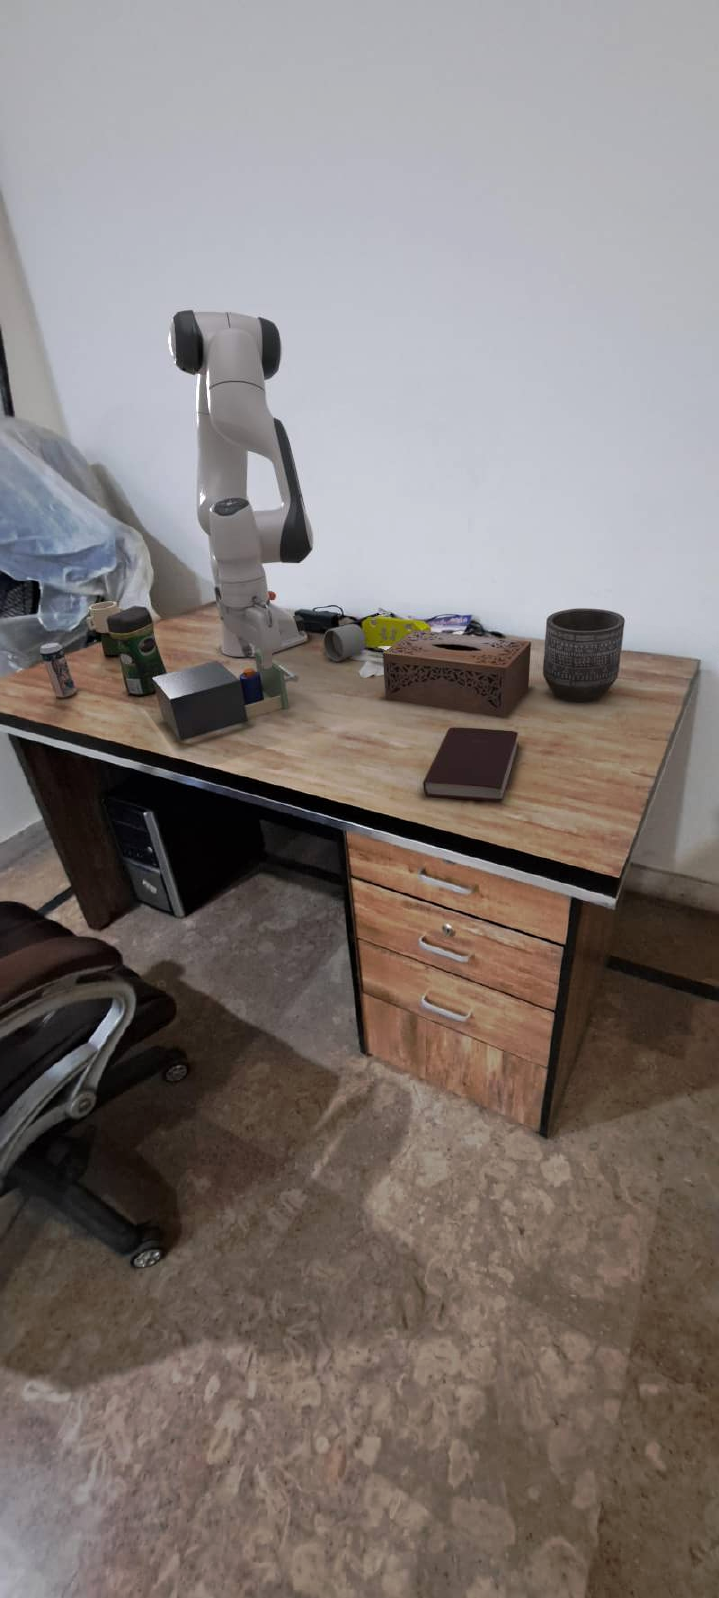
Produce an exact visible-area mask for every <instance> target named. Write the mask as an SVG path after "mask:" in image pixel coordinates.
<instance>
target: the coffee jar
mask: <svg viewBox="0 0 719 1598" xmlns="http://www.w3.org/2000/svg"><path fill="white" fill-rule="evenodd" d="M107 624H108V630H109V634H110V635H111V637H112V638H113V639H114V641H115V644H116V647H117V650H118V654H117V655H118V658H119V662H120V668H121V672H122V678H123V682H124V687H125V690H126V692H127V693H128V694H131V696H137V697H140V696H148V695H151V694H153V693H156V691H155V687H154V683H153V679H152V677H156V676H160V675H164V674H168V672H167V669H166V667H165V664H164V661H163V659H162V656H161V653H160V651H159V650H160V649H159V647H158V644H157V641H156V637H155V627H154V620H153V617H152V615H151V612H150V611H149V609H148V608H147V607H145V606H140V605H139V606H138V605H133V606H130V607H128V608H125V609H124V610H123V611H121V612H120V611H119V613H116V614H114V615H111V616H108V618H107Z"/></svg>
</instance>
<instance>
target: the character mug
mask: <svg viewBox="0 0 719 1598" xmlns="http://www.w3.org/2000/svg"><path fill="white" fill-rule="evenodd" d="M123 610H125V609H124V608H123V606H119V607H118V604H117V602H116V601H101V602H97V603H93V604H91V605H89V606H88V612H89V615H90V616H87V617H86V619H85V620H86V625H87V627H88V629H89V631H94V630H95V632H97V633H100V634H101V635H100V638H101V639H100V640H101V646H102V647H101V648H102V651H103V655H106V656H107V655H108V656H117V655H119V654H118V650H117V647H116V644H115V641H114V639H113V638H112V637H111V635H110V634H109V630H108V624H107V618H108V616H111V615H114V614H116V613H119V612H121V611H123Z"/></svg>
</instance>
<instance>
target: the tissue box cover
mask: <svg viewBox="0 0 719 1598" xmlns="http://www.w3.org/2000/svg"><path fill="white" fill-rule="evenodd" d="M531 649H532V641H530V640H529V641H528V640H519V639H509V638H499V637H490V636H489V637H487V636H479V635H469V634H461V633H459V634H458V633H448V632H440V631H432V630H431V631H421V630H413V631H412V632H410V633H409V634H408V635H406V636H405V637H404V638H402V639H401V640H400V641H398V642H397V643H395V644H394V645H393V646H391V647H390V648H389V649H387V650H386V651H385V652H384V651H383V652H382V667H383V680H384V695H385V699H386V700H391V701H396V702H397V701H398V702H404V703H409V704H416V705H421V706H429V707H436V708H441V709H448V710H454V711H461V712H467V713H472V714H473V713H474V714H479V715H487V716H493V717H499V718H506V717H507V715H508V714H509V713H510V712H511V710H512V709H513V708H514V707H515V706H516V704H517V703H518V702H519V701H520V699H521V698H522V697H523V696H524V694H525V693H526V692H527V691H528V690H529V685H530V668H531Z"/></svg>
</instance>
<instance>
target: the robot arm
mask: <svg viewBox="0 0 719 1598" xmlns="http://www.w3.org/2000/svg"><path fill="white" fill-rule="evenodd" d="M171 320H172V321H171V324H170V325H169V326H170V327H169V330H168V346H169V350H170V351H169V352H170V354H171V356H172V359H173V361H174V365H175V366H176V367H177V368H178V369H179V370H180V371H182V372H184V373H186V374H189V375H192V376H196V375H197V380H196V381H197V382H196V397H195V408H196V409H195V410H196V411H195V412H196V414H195V415H196V436H197V437H196V440H197V469H196V475H197V476H196V516H197V520H198V523H199V526H200V528H201V529H202V531H203V532H204V533H205V534H207V538H208V546H209V547H208V548H209V556H210V566H211V567H210V568H211V572H212V576H213V582H214V586H213V592H214V595H215V602H216V603H215V604H216V610H217V613H218V616H219V619H220V623H221V650H220V651H221V653H222V654H224V655H226V656H229V657H237V658H238V657H241V658H242V657H243V658H244V657H245V658H246V657H251V658H255V655H254V652H256V651H259V652H260V653H261V654H262V659H260V662H261V666H262V667H263V668H264V669H269V668H271V667H272V662H273V660H272V658H273V654H275V653H278V652H281V651H283V650H286V649H289V648H293V647H295V646H297V645H301V644H304V643H307V642H308V634H307V633H306V632H305V631H306V625H307V624H308V625H309V624H310V625H311V624H312V625H316V626H317V627H319V629H320V630H322V631H327V630H329V629H333V628H337V627H341V626H345V625H349V624H355V625H359V624H360V623H362V622H363V621H364V620H366V619H367V618H368V617H373V618H377V617H379V616H381V615H386V614H385V613H383V614H379V613H378V612H375V613H373V614H370V615H367V616H364V617H361V618H359V619H358V620H355V621H352V622H349V623H346V624H342V625H339V626H334V627H327V626H326V627H325V626H323V625H322V624H321V622H318V621H315V620H305V619H304V618H303V617H302V616H301V615H299V614H296V615H292V614H291V613H290V612H288V611H286V610H285V609H284V608H281V607H279V606H278V605H276V604H274V603H273V602H271V601H275V600H276V599H277V594H276V593H275V591H272V590H269V587H268V581H267V575H266V570H265V567H264V566H263V564H273V563H274V564H275V563H282V564H300V563H302V562H303V561H304V560H305V559H306V558H307V557H308V556H309V555H310V554H311V552H312V551H313V548H314V531H313V527H312V524H311V521H310V519H309V516H308V513H307V511H306V507H305V501H304V498H303V493H302V489H301V484H300V480H299V476H298V472H297V466H296V463H295V462H296V461H295V459H294V455H293V450H292V446H291V443H290V439H289V436H288V433H287V430H286V428H285V425H284V424H283V422H282V420H280V419H279V418H276V417H274V415H273V414H272V413H271V410H270V408H269V405H268V402H267V392H266V382H265V381H267V380H270V379H272V378H273V377H274V376H276V374H277V373H278V372H279V368H280V365H281V361H282V357H283V345H282V344H283V343H282V339H281V336H280V330H279V329H278V326H276V324H275V323H274V321H271V320H270V319H267V318H264V317H261V316H258V317H254V316H251V315H247V314H242V313H237V312H231V311H230V312H229V311H225V312H222V311H194V310H193V309H186V310H180V311H177V312H176V313H175V314H174V316H173V317H172V318H171ZM249 452H250V453H251V452H252V453H254V454H257V455H259V456H262V457H264V458H266V459H267V460H269V461H270V462H271V463H272V466H273V469H274V474H275V479H276V483H277V486H278V492H279V496H280V501H281V506H279V508H275V509H264V510H253V506H252V504H251V501H250V499H249V496H248V494H247V493H248V466H249ZM389 616H391V617H394V616H395V614H394V613H393V612H391V614H390V615H389Z"/></svg>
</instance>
